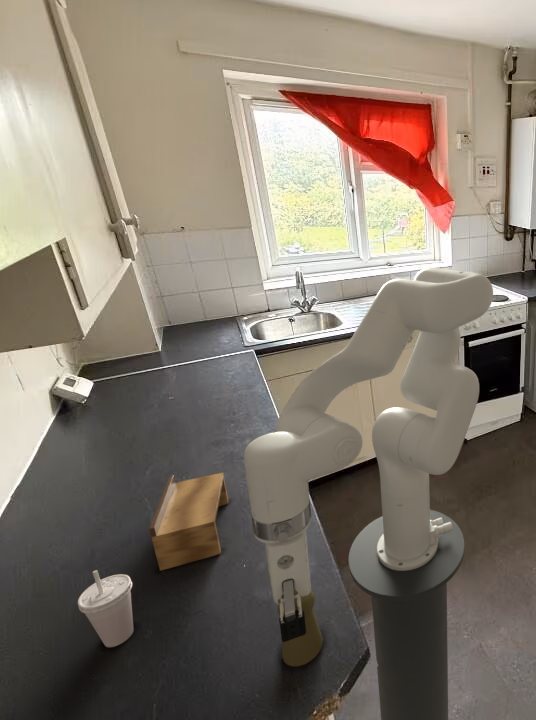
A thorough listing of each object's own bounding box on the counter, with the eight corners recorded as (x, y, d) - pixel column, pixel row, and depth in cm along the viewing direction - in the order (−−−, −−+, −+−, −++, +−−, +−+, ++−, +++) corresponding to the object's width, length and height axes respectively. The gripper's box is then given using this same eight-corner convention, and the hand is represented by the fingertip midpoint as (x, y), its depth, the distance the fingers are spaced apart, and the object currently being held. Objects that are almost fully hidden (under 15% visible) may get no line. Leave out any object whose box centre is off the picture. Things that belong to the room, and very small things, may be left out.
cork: (325, 654, 67) (319, 601, 64) (283, 673, 65) (274, 619, 61) (319, 623, 72) (313, 572, 69) (280, 639, 70) (272, 587, 66)
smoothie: (81, 656, 66) (56, 586, 62) (115, 618, 72) (94, 552, 68) (123, 655, 67) (101, 585, 63) (153, 617, 73) (135, 552, 69)
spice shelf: (228, 500, 102) (221, 465, 99) (220, 553, 86) (212, 513, 83) (178, 513, 97) (169, 475, 94) (159, 571, 82) (149, 528, 79)
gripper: (315, 549, 55) (324, 649, 60) (306, 477, 70) (314, 562, 75) (249, 568, 52) (264, 672, 56) (255, 489, 67) (266, 576, 71)
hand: (293, 609), depth 66 cm, fingers open, 9 cm apart
